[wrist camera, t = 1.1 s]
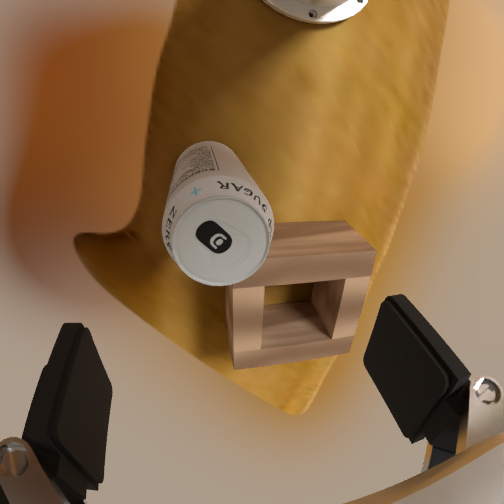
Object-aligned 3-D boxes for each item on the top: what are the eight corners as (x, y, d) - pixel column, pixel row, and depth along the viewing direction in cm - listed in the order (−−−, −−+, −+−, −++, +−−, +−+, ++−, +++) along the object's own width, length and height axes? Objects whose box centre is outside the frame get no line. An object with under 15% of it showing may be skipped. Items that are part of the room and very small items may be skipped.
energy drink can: (207, 214, 30) (221, 314, 17) (161, 172, 27) (133, 247, 14) (253, 171, 29) (305, 241, 16) (208, 125, 26) (223, 156, 13)
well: (223, 225, 31) (232, 260, 25) (344, 220, 33) (376, 250, 27) (226, 326, 37) (234, 369, 31) (327, 315, 39) (348, 352, 33)
